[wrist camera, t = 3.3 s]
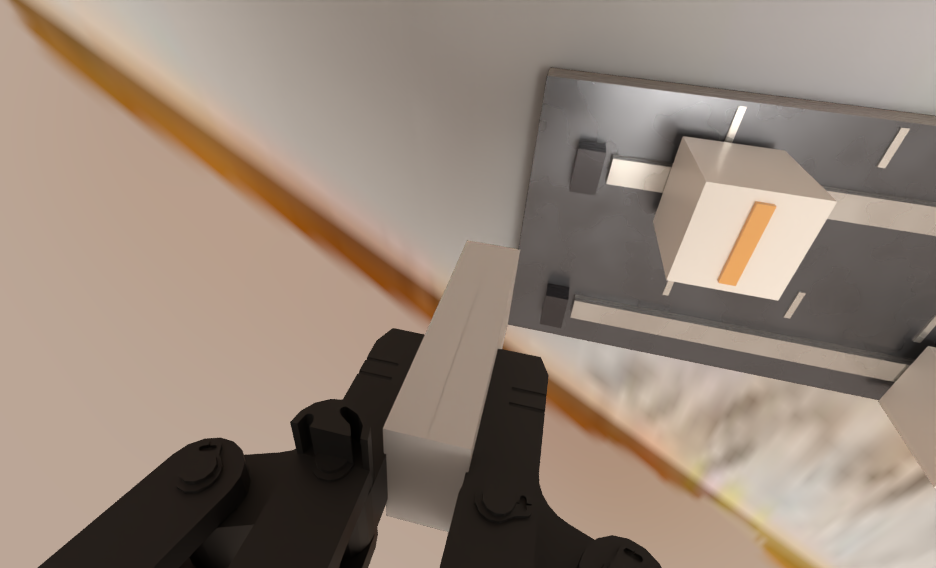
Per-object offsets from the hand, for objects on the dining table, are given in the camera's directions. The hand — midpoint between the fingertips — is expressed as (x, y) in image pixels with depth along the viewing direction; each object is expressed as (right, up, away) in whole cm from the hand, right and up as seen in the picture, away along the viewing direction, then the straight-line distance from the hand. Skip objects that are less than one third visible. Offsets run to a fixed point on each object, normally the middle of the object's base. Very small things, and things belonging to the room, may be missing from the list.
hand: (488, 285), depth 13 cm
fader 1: (+10, +4, +7) cm, 13 cm away
